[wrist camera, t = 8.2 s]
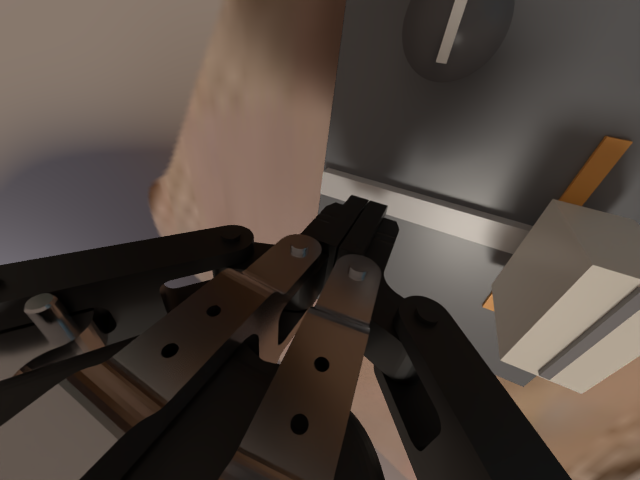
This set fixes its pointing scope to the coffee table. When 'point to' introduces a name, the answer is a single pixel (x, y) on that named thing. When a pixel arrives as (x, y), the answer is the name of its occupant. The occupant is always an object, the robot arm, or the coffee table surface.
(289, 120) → the coffee table surface
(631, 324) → the fader cap
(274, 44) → the coffee table surface
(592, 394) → the coffee table surface
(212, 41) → the coffee table surface
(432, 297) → the console board
